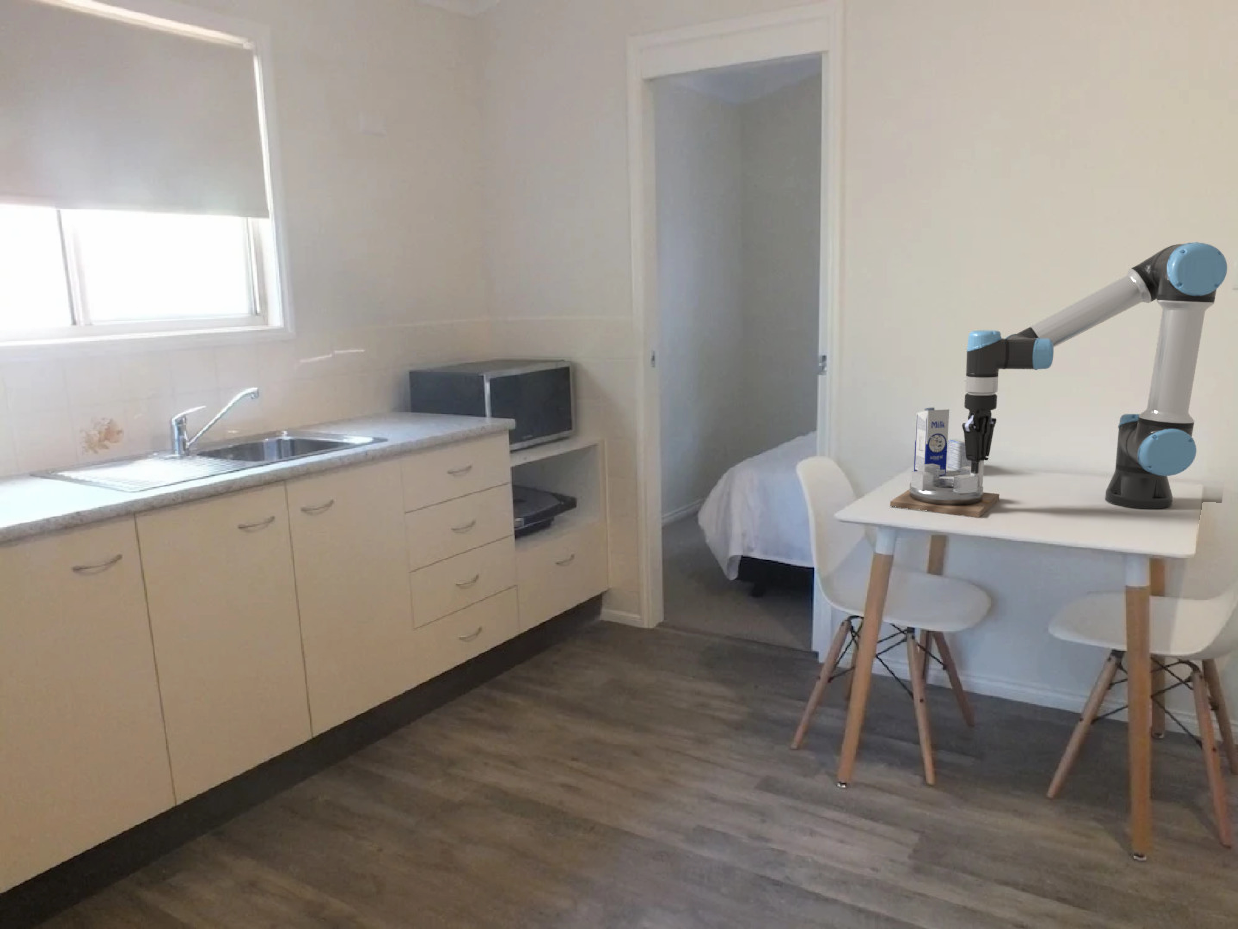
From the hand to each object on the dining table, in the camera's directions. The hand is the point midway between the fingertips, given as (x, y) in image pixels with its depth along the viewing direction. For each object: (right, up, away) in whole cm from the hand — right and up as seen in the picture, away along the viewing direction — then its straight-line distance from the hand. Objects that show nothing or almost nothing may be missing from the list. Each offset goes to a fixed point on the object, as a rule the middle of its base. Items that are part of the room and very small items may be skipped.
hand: (976, 485), depth 236 cm
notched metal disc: (-6, -3, +6) cm, 9 cm away
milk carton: (+2, +2, +43) cm, 43 cm away
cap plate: (-6, -5, +7) cm, 10 cm away
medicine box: (+14, +4, +49) cm, 51 cm away
